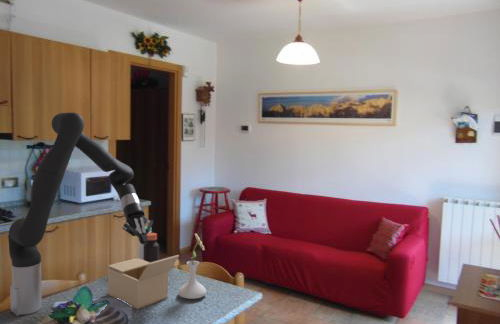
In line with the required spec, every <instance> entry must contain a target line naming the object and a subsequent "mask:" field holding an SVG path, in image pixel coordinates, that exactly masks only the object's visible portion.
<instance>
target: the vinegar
mask: <svg viewBox="0 0 500 324" xmlns="http://www.w3.org/2000/svg"><path fill="white" fill-rule="evenodd" d="M146 236H147V238H148V241H147V243H146V244H144V253H143V260H144V261H147V262H150V263H151V262H154V261H158V260H160V244H159V243H158V242H157V240H158V233H156V232H151V233H148V234H147V235H146Z"/></svg>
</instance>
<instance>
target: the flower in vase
mask: <svg viewBox="0 0 500 324" xmlns="http://www.w3.org/2000/svg"><path fill="white" fill-rule="evenodd" d="M194 237H195V239H196V244H195V245H194V247H193V250H192V256H191V257H190V258H189V259H191V260H188V261H186V264H187V266H188V268H189V269H188V271H189V280H188V281H187V282H185V284H184V285H182V286H181V287H180V288H179V289H178V291H177V292H178V293H177V294H178V295H179V296H180V297H181V298H183V299H188V300H195V299H200V298H202V297H204V296H205V295H206V294H207V289H206V288H205V285H203V284H201V283H199V282H198V281H197V278H196V271H197V268H198V266H199V264H200V261H197V260H194V259H195V258H197V253H196V251H195V249H196V247H197V246H198V245H199V247H200V248H201V249H202V251H205V250H206V249H205V246H204V245H203V241H202V240H201V239H200V237H199V235H198V233H194Z"/></svg>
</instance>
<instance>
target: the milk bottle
mask: <svg viewBox="0 0 500 324" xmlns="http://www.w3.org/2000/svg"><path fill="white" fill-rule="evenodd" d="M147 227H148V226H145V230H146V229H147ZM148 233H152V227H151V228H150V231H149V232H148ZM138 241H139V240H138ZM143 253H144V245H142V243H140V241H139V242H138V245H137V258H139V259H142V260H143Z"/></svg>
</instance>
